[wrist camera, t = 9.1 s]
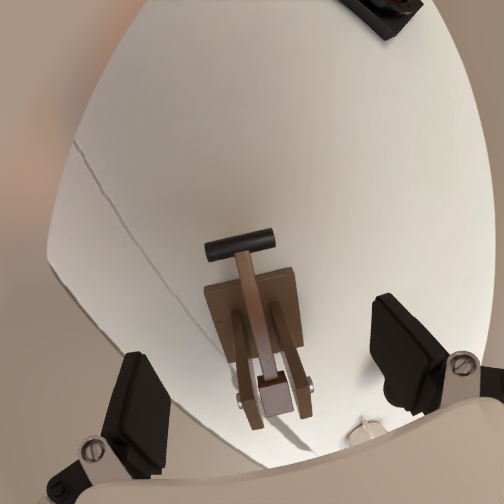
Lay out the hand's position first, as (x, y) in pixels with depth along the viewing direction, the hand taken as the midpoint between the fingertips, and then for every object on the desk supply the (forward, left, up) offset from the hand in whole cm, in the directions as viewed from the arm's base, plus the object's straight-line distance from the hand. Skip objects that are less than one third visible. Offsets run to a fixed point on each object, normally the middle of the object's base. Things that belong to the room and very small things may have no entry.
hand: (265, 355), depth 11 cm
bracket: (+8, -7, -17) cm, 20 cm away
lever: (+5, -4, -10) cm, 11 cm away
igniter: (-4, +29, -17) cm, 34 cm away
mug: (+43, -18, -17) cm, 50 cm away
